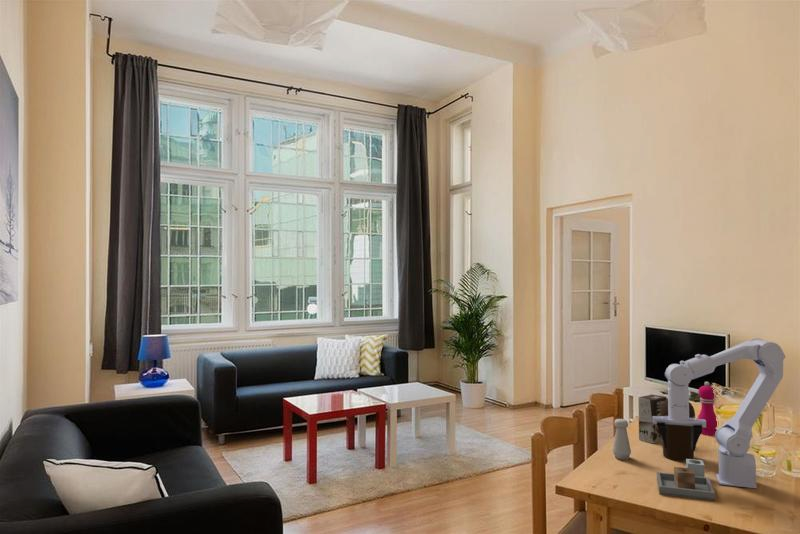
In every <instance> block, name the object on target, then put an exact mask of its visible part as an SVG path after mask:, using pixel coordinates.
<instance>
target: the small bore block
mask: <svg viewBox="0 0 800 534" xmlns="http://www.w3.org/2000/svg"><path fill="white" fill-rule="evenodd" d="M673 474H674V484H675V486H676V487H677V488H685V489H694V490H695V473H694V472H693V471H692V469H691V468H686V467H680V466H679V467H677V466H673Z"/></svg>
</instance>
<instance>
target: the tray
mask: <svg viewBox="0 0 800 534" xmlns="http://www.w3.org/2000/svg"><path fill="white" fill-rule="evenodd" d="M656 482H657V489H658V494H659V495H661V496H663V495H664V496H671V497H672V496H673V497H678V498H679V497H680V498H687V499H697V500H702V501H703V500H704V501H705V500H706V501H711V500H712V501H713V502H715V501H716V493H715V490H714V488H713V485H712V483H711V480H710V477H698V476H695V490H694V489H685V488H677V487H676V486H675V484H674V473H669V472H661V471H659V472H658V471H656Z"/></svg>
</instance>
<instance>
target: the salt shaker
mask: <svg viewBox="0 0 800 534" xmlns="http://www.w3.org/2000/svg"><path fill="white" fill-rule="evenodd" d="M613 424H614V426H615V435H614V440H613V444H612V452H613V453H612V454H613V455H614V457H615V459H618V460H622V461H624V460H628V459H629V458H630V456H631V453H632V450H631V445H630V440H629V435H628V431H627V428H628V426H629V422H628V421H627V420H626V419H624V418H616V419H615V420H614V423H613Z"/></svg>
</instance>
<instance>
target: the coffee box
mask: <svg viewBox="0 0 800 534" xmlns="http://www.w3.org/2000/svg"><path fill="white" fill-rule="evenodd" d="M667 398H668V396H664V395H658V394H648V395H642V396H638V440H639V441H643V442H646V443H650V444H656V443H660V442H662V436H661V433H660V431H659V429H658V427H657V424H653V416H661V413H660V409H661V406H662V403H663V402H664V401H665V400H666V399H667Z"/></svg>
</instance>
